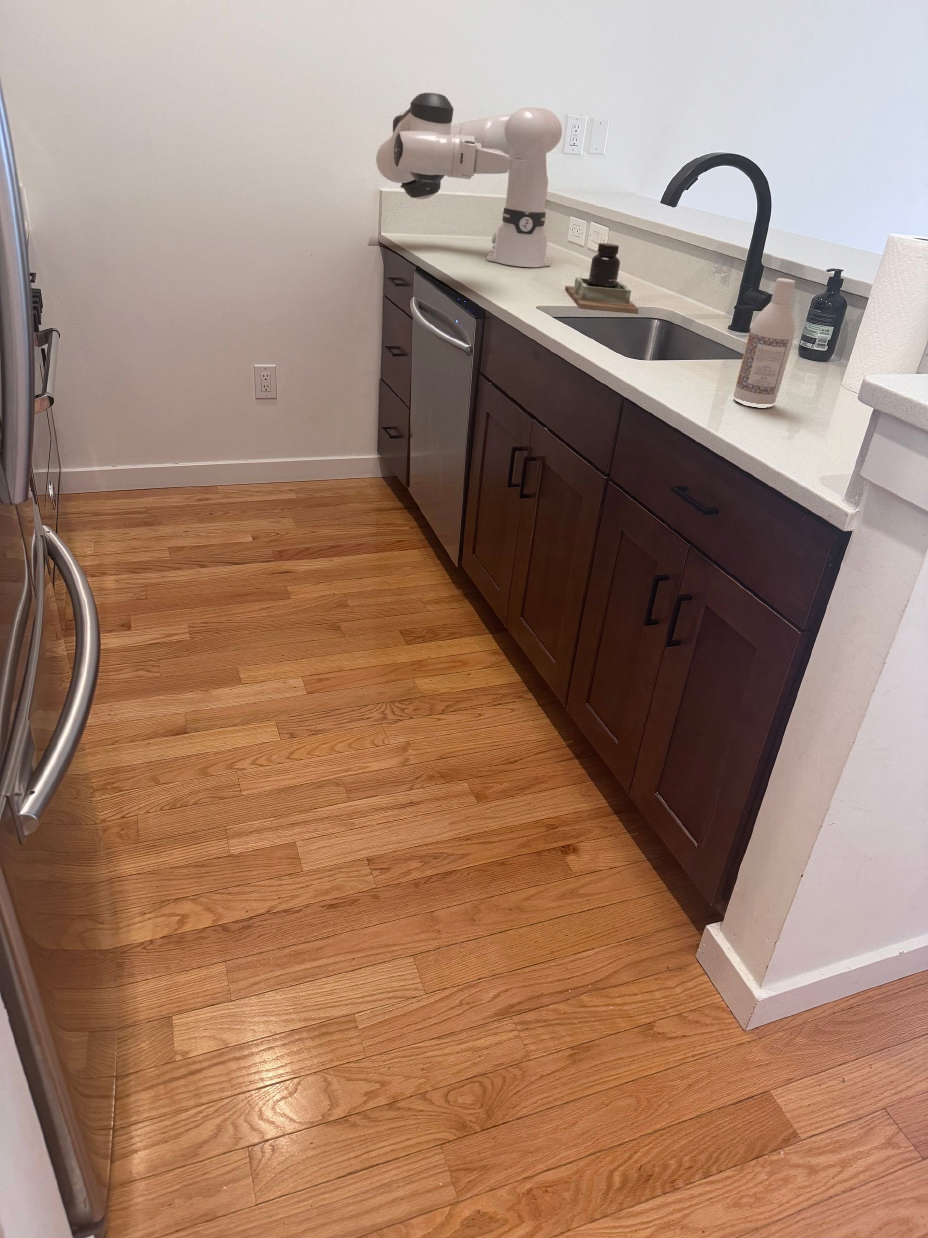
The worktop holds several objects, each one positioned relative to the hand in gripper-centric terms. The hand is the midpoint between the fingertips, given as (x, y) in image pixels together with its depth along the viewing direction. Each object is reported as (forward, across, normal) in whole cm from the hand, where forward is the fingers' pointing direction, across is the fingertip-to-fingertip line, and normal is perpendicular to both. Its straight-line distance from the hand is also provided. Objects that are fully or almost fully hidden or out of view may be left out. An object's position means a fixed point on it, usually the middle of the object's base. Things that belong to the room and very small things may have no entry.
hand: (524, 163), depth 203 cm
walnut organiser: (+22, +4, -28) cm, 36 cm away
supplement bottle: (+22, +4, -27) cm, 35 cm away
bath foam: (+33, +83, -28) cm, 94 cm away
